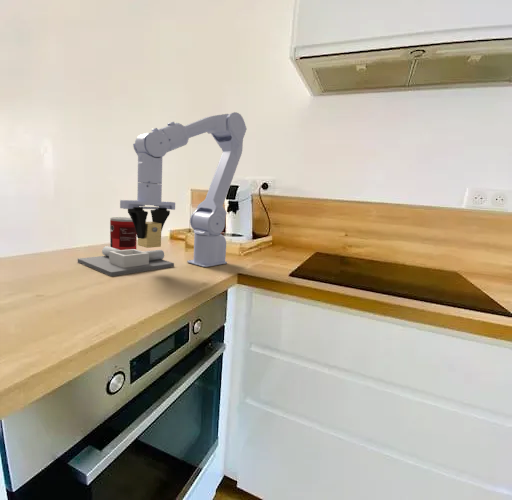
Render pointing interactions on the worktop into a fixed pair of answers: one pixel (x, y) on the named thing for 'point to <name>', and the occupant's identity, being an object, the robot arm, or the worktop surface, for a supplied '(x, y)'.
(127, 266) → the shaft board
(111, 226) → the canned food
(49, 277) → the worktop surface
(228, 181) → the robot arm
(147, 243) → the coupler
